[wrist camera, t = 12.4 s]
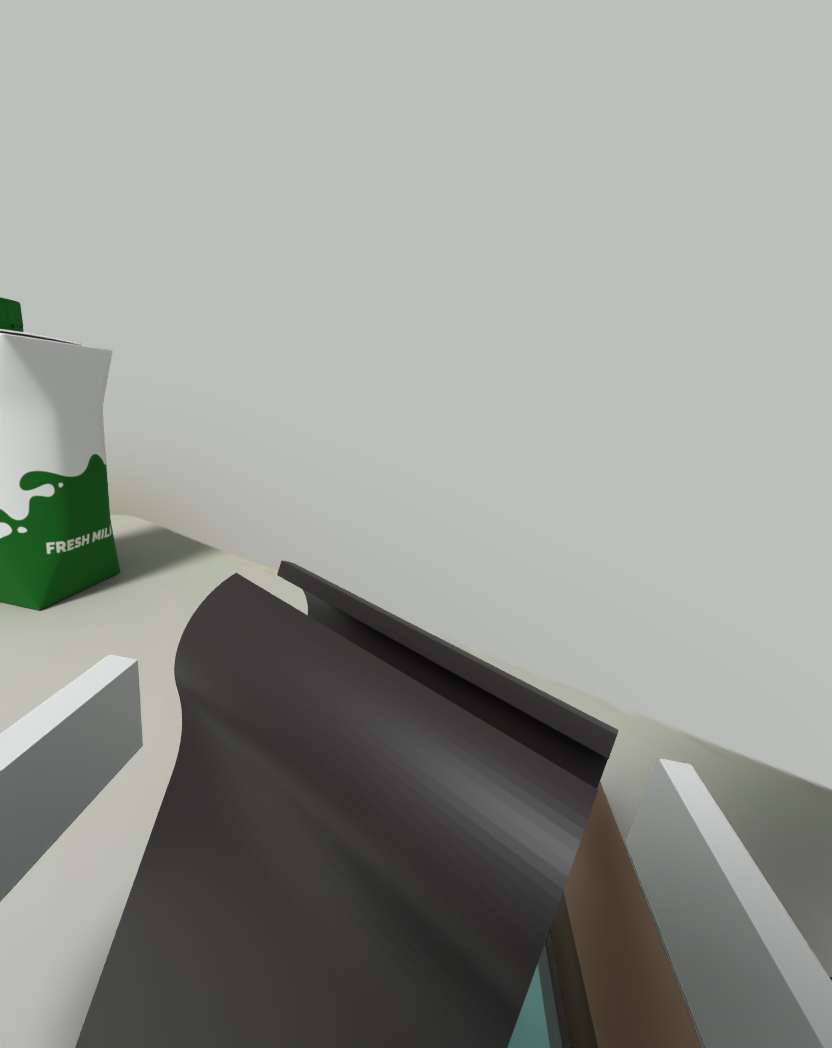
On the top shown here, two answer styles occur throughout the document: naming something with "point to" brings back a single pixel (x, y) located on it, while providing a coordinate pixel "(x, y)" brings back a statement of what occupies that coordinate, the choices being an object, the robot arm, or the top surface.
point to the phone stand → (346, 837)
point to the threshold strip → (614, 951)
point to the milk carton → (51, 466)
